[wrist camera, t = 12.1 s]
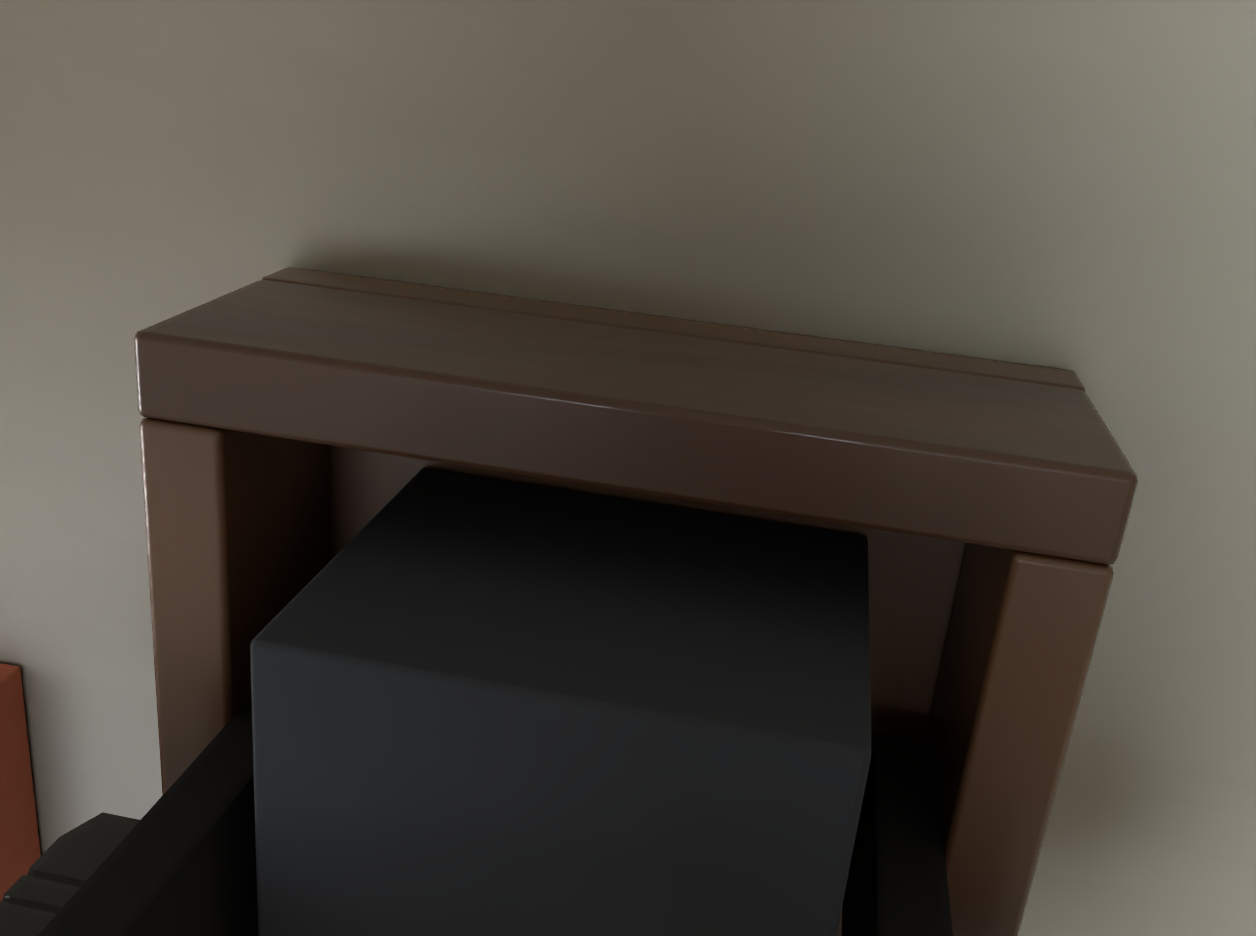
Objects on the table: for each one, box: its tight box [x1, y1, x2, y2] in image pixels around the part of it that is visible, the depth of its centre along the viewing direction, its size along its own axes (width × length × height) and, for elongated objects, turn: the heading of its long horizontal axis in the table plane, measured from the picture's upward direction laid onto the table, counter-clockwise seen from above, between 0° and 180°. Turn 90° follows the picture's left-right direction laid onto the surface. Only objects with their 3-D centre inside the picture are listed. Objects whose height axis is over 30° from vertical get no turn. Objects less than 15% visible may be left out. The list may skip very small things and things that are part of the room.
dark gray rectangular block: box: [250, 468, 871, 936], centre depth 15 cm, size 8×6×5 cm
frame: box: [134, 267, 1138, 936], centre depth 16 cm, size 12×10×4 cm
